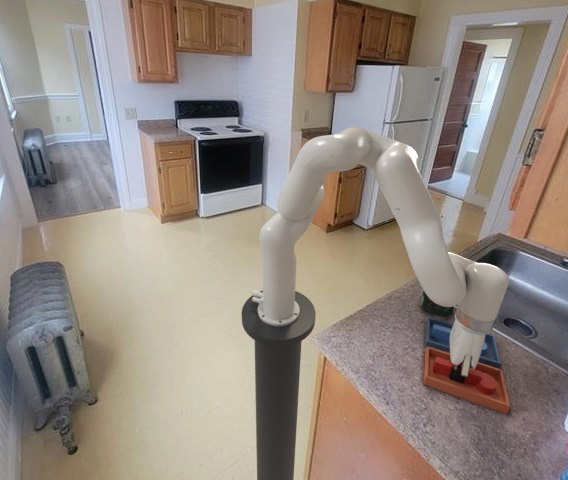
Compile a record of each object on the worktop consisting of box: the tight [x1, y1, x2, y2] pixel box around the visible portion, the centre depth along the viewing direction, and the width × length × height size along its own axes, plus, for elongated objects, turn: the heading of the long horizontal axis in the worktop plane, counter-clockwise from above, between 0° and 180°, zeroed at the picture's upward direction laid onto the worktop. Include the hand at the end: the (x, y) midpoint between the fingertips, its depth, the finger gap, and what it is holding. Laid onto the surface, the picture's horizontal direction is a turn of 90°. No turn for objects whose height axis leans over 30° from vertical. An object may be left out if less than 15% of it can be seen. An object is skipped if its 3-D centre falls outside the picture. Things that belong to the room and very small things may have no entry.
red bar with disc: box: [433, 357, 497, 395], centre depth 77 cm, size 13×4×3 cm, turn 66°
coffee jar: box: [420, 290, 455, 318], centre depth 98 cm, size 10×8×19 cm
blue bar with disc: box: [431, 324, 487, 355], centre depth 88 cm, size 13×4×3 cm, turn 66°
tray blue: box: [424, 316, 502, 369], centre depth 88 cm, size 17×10×2 cm, turn 66°
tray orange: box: [423, 346, 511, 415], centre depth 78 cm, size 17×10×2 cm, turn 66°
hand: (455, 374), depth 78 cm, fingers closed
